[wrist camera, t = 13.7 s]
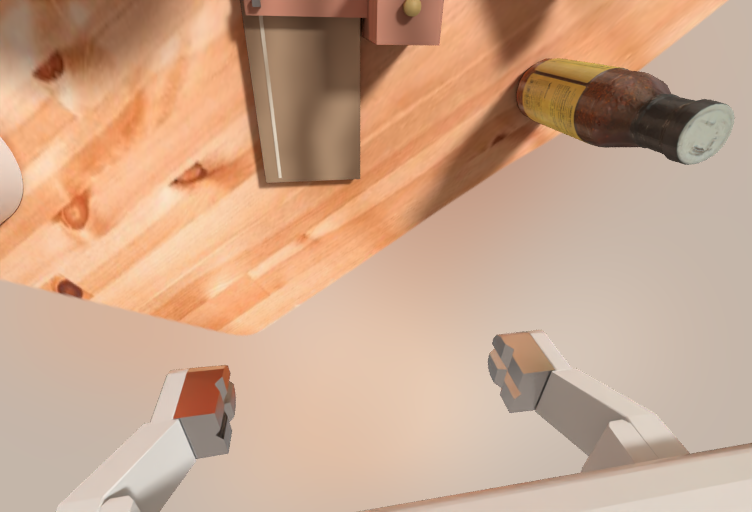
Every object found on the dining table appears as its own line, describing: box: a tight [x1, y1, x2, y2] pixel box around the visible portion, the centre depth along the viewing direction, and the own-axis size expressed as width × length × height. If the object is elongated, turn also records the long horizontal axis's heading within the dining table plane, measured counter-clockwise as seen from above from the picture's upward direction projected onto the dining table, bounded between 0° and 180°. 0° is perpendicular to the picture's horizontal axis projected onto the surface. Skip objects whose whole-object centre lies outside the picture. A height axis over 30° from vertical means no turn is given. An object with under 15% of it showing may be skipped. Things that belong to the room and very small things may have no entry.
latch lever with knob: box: [244, 0, 444, 45], centre depth 31 cm, size 15×5×9 cm, turn 89°
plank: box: [240, 0, 360, 183], centre depth 36 cm, size 10×22×2 cm, turn 179°
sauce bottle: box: [517, 58, 734, 165], centre depth 33 cm, size 7×6×20 cm
